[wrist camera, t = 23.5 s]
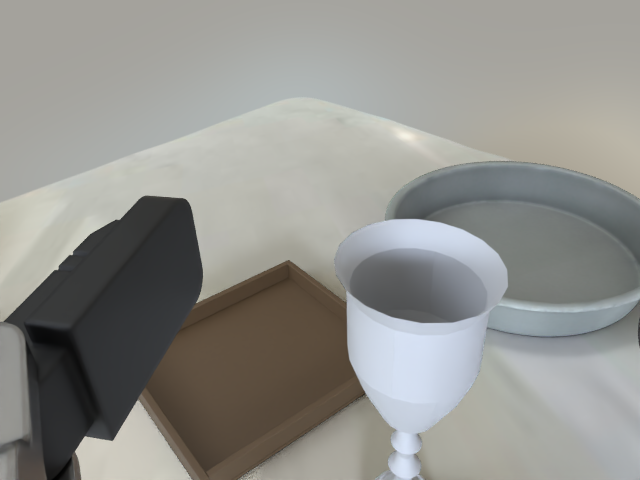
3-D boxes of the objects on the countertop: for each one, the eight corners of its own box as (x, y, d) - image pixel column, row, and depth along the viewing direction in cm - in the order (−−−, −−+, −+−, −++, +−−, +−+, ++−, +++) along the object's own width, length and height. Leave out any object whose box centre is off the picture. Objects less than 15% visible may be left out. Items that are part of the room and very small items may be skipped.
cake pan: (459, 176, 68) (462, 141, 66) (691, 243, 55) (707, 202, 52) (331, 276, 53) (330, 235, 50) (612, 405, 39) (630, 358, 37)
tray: (290, 275, 53) (288, 259, 52) (406, 366, 43) (407, 348, 42) (113, 361, 44) (107, 344, 43) (206, 500, 34) (201, 482, 33)
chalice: (489, 540, 32) (548, 285, 22) (387, 605, 29) (402, 349, 19) (411, 443, 37) (430, 204, 27) (319, 491, 35) (303, 245, 25)
